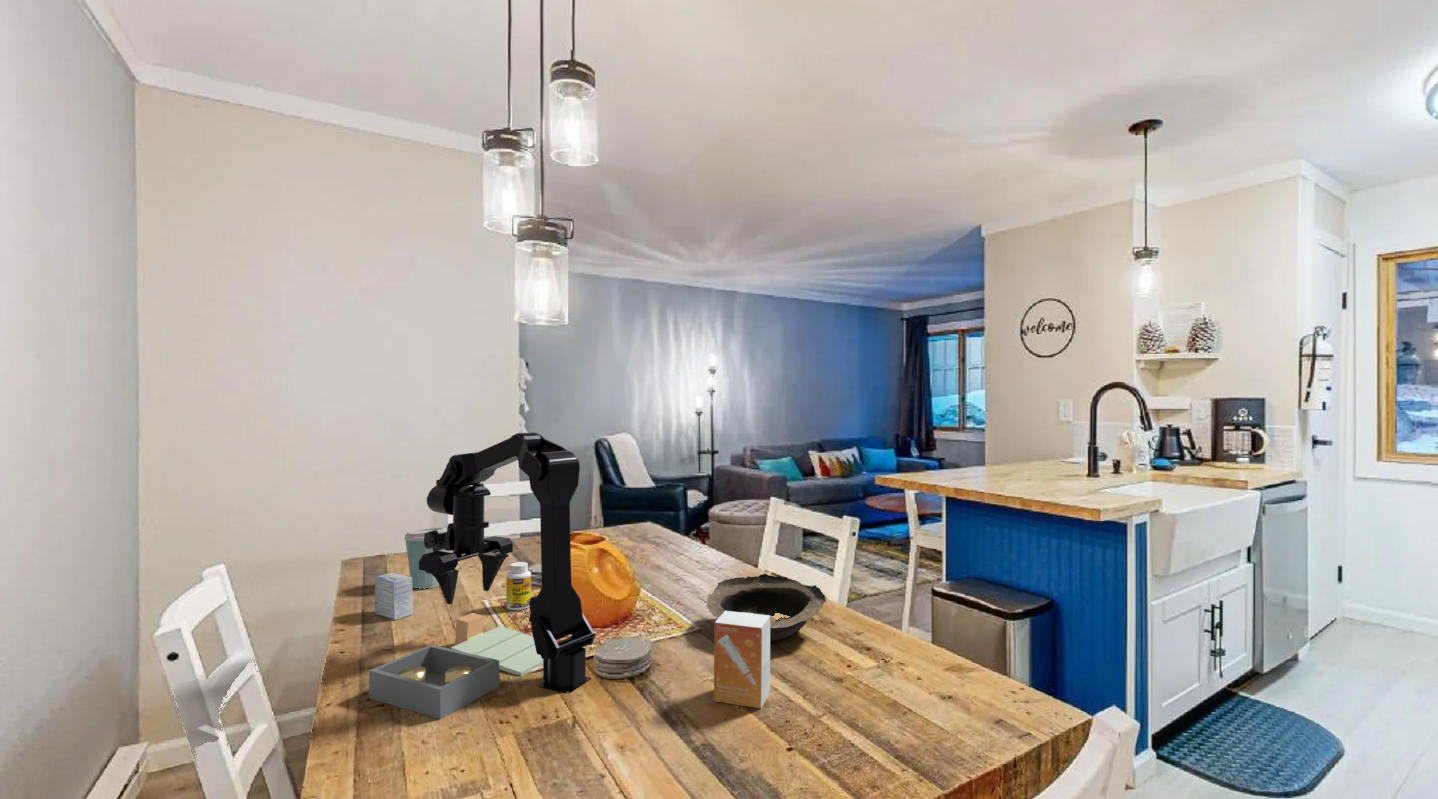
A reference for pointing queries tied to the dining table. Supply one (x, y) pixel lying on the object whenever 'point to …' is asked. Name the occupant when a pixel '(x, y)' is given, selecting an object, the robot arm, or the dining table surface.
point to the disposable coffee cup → (414, 554)
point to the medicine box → (393, 596)
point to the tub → (434, 681)
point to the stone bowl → (768, 601)
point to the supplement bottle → (518, 586)
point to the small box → (742, 658)
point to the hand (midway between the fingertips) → (468, 597)
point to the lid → (497, 645)
